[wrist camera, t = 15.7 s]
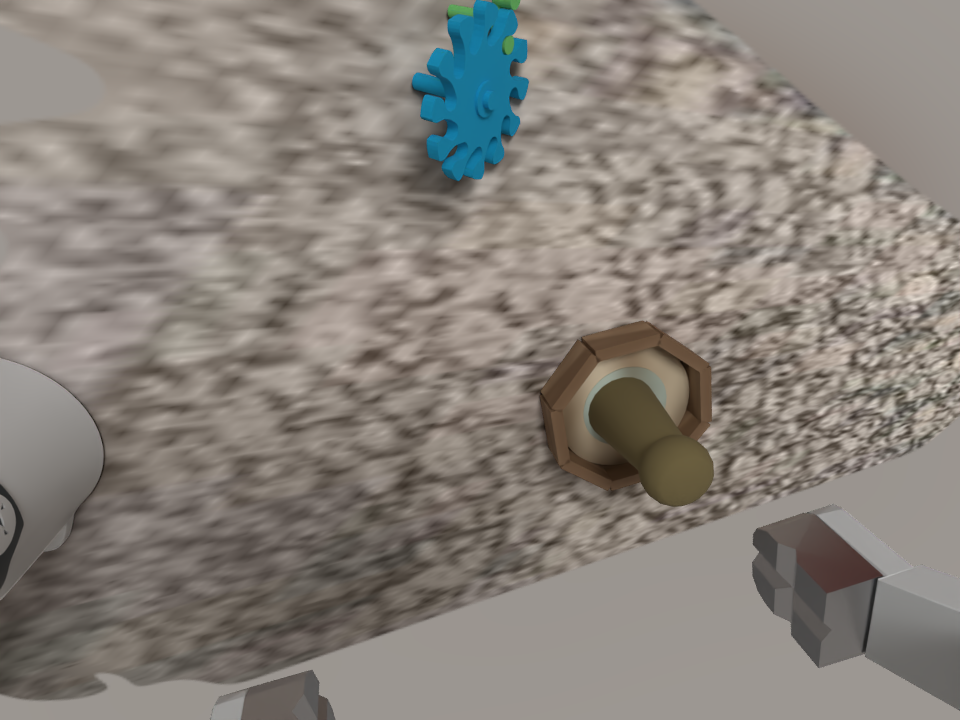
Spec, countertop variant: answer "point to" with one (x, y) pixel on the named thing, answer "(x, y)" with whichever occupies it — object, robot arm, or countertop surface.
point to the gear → (474, 87)
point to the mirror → (609, 359)
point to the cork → (651, 442)
